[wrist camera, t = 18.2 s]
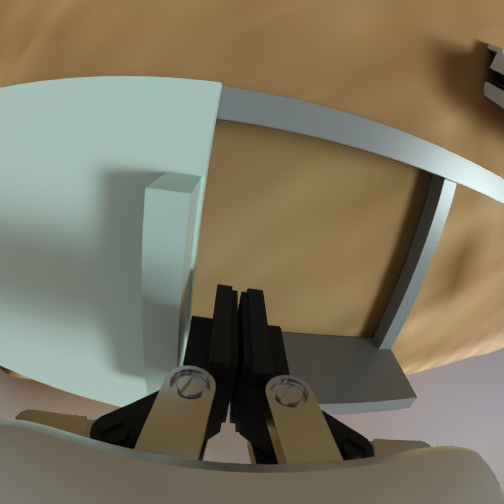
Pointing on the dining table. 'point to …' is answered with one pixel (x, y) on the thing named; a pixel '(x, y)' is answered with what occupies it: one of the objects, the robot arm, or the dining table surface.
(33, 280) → the lid
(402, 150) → the housing
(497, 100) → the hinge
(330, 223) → the dining table surface
